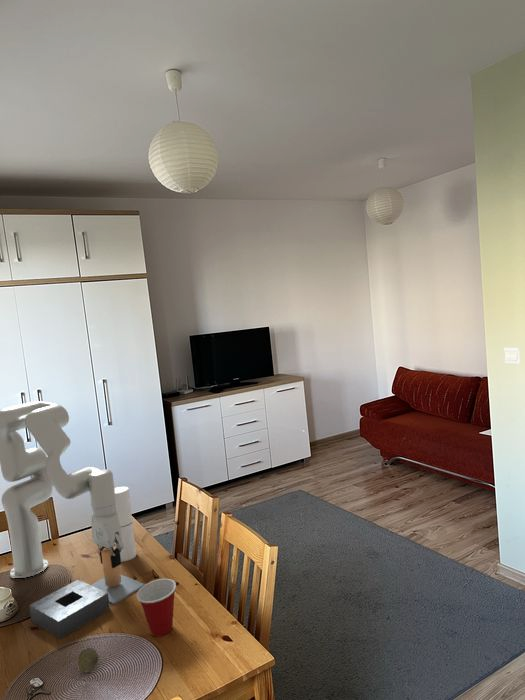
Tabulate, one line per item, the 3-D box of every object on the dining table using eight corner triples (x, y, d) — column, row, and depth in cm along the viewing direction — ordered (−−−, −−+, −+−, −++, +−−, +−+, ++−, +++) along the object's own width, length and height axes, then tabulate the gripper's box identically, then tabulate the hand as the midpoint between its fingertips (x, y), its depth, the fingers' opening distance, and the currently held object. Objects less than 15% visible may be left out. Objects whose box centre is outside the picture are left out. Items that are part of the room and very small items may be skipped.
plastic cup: (137, 626, 143) (132, 585, 143) (175, 613, 148) (170, 574, 147) (144, 648, 133) (139, 604, 133) (185, 634, 138) (180, 591, 137)
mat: (83, 590, 166) (83, 588, 166) (114, 573, 175) (114, 572, 175) (113, 604, 156) (113, 602, 156) (144, 585, 165) (144, 584, 165)
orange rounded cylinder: (102, 584, 165) (98, 551, 164) (115, 577, 169) (111, 544, 168) (111, 588, 162) (107, 554, 161) (124, 580, 166) (120, 548, 165)
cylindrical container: (130, 561, 183) (122, 493, 181) (112, 561, 184) (104, 493, 182) (139, 551, 190) (131, 486, 188) (121, 551, 191) (114, 486, 189)
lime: (100, 661, 130) (97, 642, 130) (94, 675, 125) (92, 655, 125) (82, 663, 130) (80, 644, 129) (76, 677, 125) (73, 657, 125)
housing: (31, 621, 151) (29, 605, 151) (79, 594, 163) (78, 579, 163) (60, 638, 141) (58, 621, 141) (109, 609, 153) (107, 593, 153)
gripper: (79, 509, 166) (85, 562, 167) (110, 518, 155) (117, 575, 156) (99, 500, 172) (105, 553, 173) (130, 509, 161) (137, 565, 162)
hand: (111, 563), depth 165 cm, fingers closed on orange rounded cylinder, 5 cm apart
